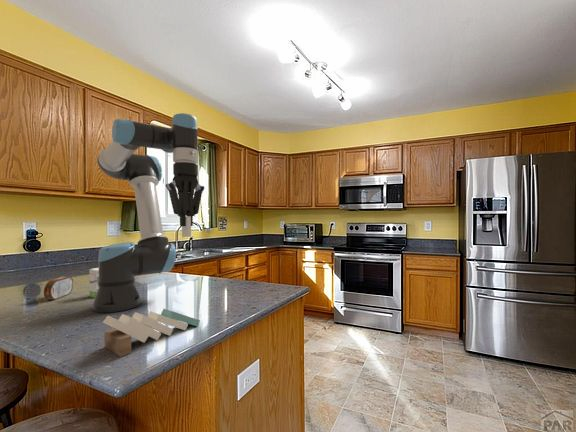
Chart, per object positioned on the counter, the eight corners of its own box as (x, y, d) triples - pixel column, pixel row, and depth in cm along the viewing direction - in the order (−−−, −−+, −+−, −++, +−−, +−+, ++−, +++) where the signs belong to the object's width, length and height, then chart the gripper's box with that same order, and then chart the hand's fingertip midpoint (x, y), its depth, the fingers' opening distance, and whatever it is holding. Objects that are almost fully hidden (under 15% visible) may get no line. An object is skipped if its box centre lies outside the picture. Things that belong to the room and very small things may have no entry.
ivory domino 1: (144, 342, 76) (111, 326, 70) (135, 338, 79) (102, 322, 73) (148, 335, 77) (116, 319, 71) (139, 331, 80) (107, 315, 74)
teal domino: (197, 326, 89) (170, 318, 82) (187, 323, 92) (160, 314, 85) (200, 320, 89) (173, 311, 83) (190, 317, 93) (163, 308, 86)
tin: (67, 293, 134) (67, 274, 134) (74, 292, 134) (74, 274, 134) (42, 302, 119) (42, 281, 119) (51, 302, 119) (51, 281, 119)
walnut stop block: (104, 347, 75) (104, 331, 75) (114, 343, 77) (114, 328, 77) (120, 356, 70) (120, 339, 70) (131, 352, 72) (131, 336, 72)
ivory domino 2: (157, 340, 79) (126, 324, 73) (147, 336, 82) (117, 320, 76) (161, 333, 80) (131, 317, 74) (151, 329, 83) (122, 313, 77)
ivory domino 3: (169, 335, 82) (140, 322, 76) (160, 332, 85) (131, 318, 79) (173, 329, 83) (144, 315, 76) (163, 325, 86) (135, 312, 79)
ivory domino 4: (185, 330, 86) (156, 321, 79) (176, 326, 89) (146, 317, 82) (188, 324, 86) (159, 314, 80) (178, 320, 89) (150, 311, 83)
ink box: (95, 298, 124) (94, 269, 124) (89, 296, 126) (88, 269, 126) (115, 293, 131) (115, 266, 131) (109, 292, 134) (109, 266, 134)
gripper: (173, 158, 89) (174, 238, 89) (209, 164, 99) (210, 235, 99) (160, 162, 93) (161, 237, 93) (195, 167, 104) (196, 235, 103)
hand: (186, 236), depth 96 cm, fingers closed
